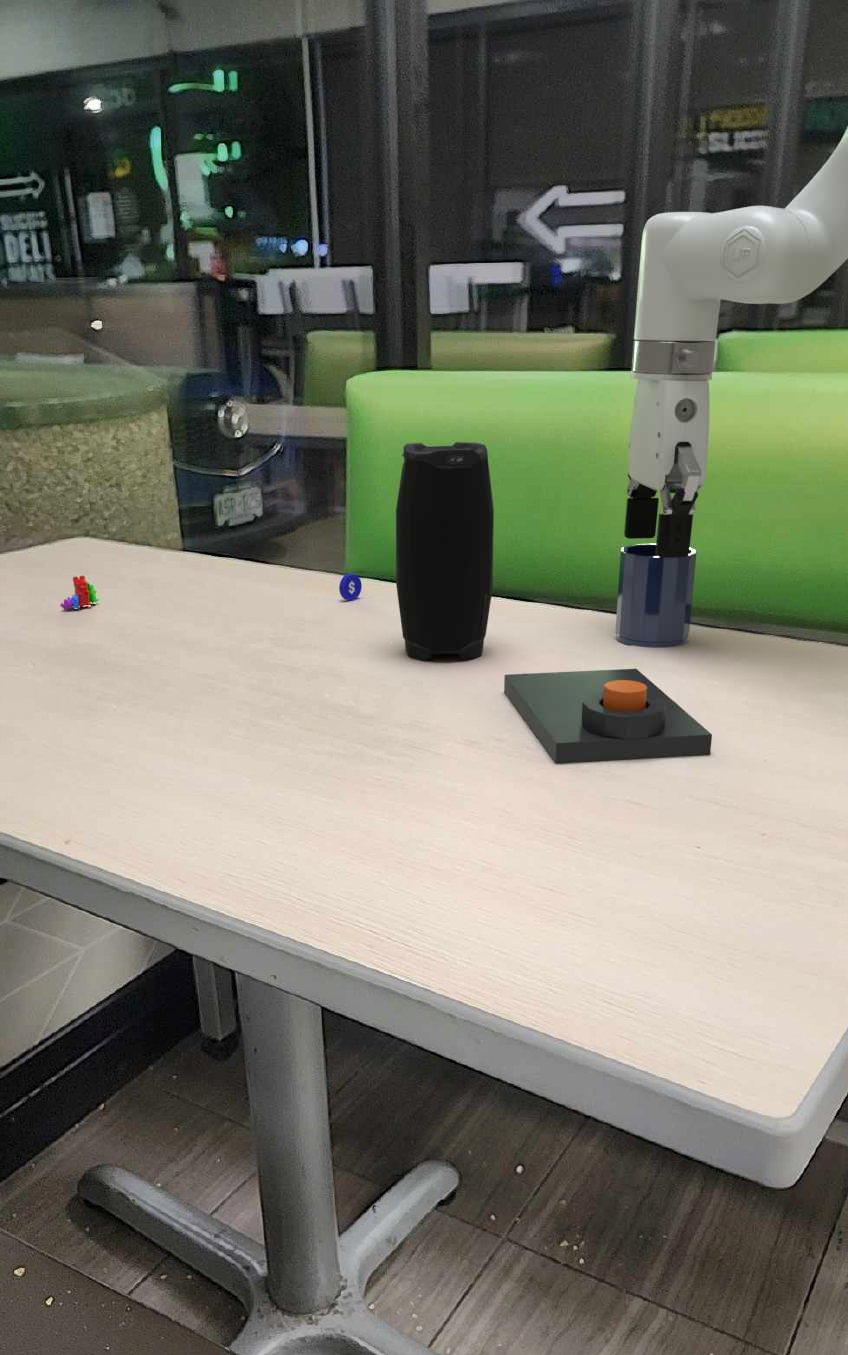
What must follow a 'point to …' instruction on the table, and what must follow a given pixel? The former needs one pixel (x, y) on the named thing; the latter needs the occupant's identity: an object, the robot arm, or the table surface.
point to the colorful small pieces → (80, 594)
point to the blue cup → (654, 597)
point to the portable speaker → (444, 549)
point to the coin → (350, 586)
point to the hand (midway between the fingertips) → (655, 546)
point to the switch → (625, 695)
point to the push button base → (602, 718)
